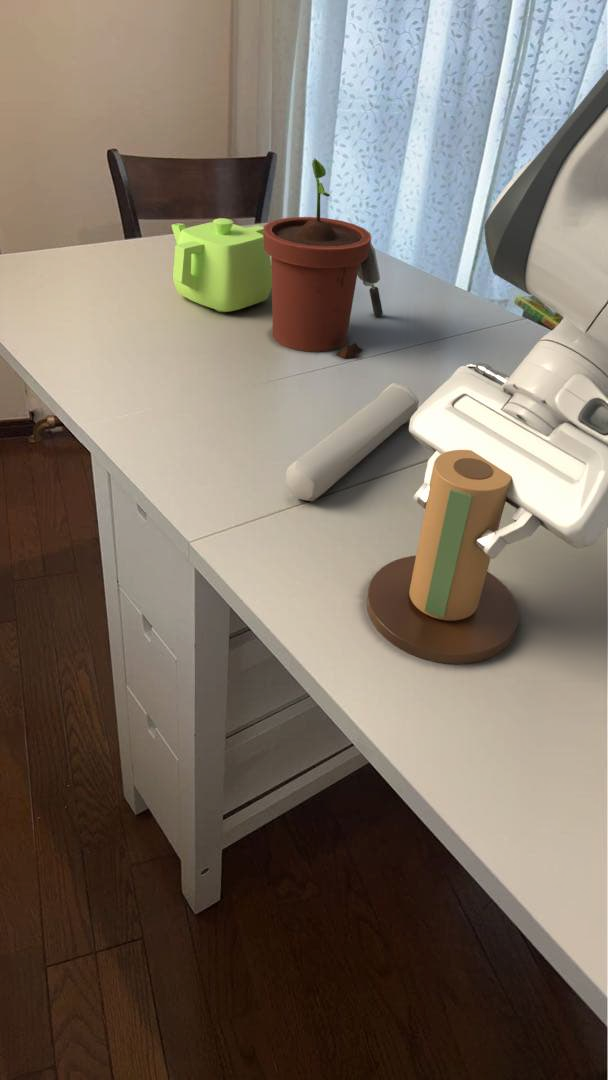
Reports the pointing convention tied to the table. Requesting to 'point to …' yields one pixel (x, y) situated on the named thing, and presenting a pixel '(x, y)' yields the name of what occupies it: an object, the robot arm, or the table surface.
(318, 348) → the potted plant
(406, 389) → the tube
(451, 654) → the disc
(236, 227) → the teapot
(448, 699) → the table surface
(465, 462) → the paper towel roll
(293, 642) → the table surface
